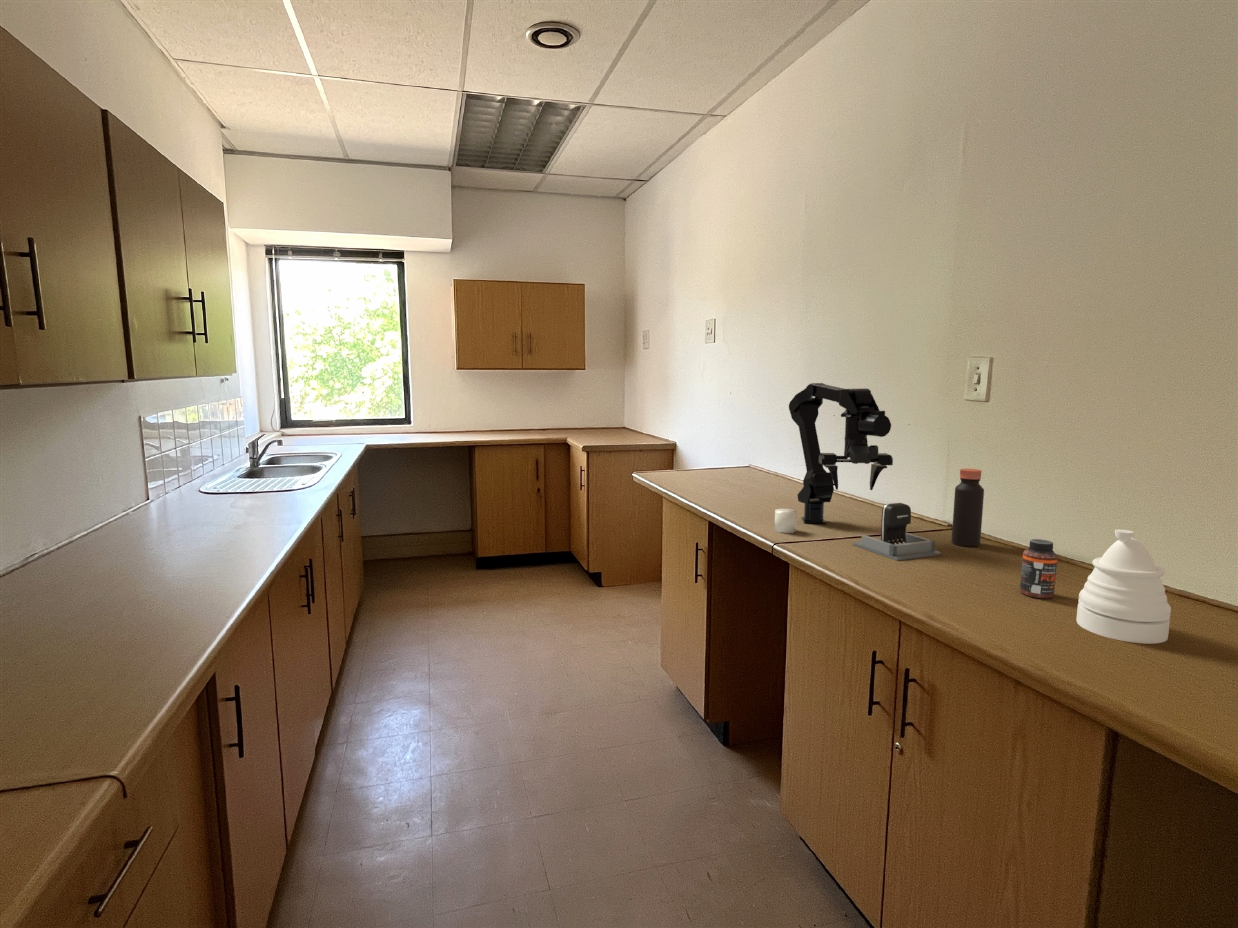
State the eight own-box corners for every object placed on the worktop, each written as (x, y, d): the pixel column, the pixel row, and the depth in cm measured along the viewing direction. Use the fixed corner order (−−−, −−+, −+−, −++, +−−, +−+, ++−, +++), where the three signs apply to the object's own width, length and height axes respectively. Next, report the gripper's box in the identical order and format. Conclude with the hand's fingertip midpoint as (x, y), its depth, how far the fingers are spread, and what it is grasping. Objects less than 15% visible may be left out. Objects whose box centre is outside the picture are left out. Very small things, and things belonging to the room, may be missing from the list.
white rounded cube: (773, 528, 189) (774, 508, 188) (794, 528, 188) (794, 508, 187) (775, 533, 183) (776, 512, 182) (797, 533, 182) (797, 513, 181)
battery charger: (889, 550, 162) (892, 506, 160) (879, 546, 166) (881, 503, 164) (911, 547, 164) (914, 504, 163) (900, 544, 168) (903, 501, 166)
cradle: (852, 544, 170) (852, 533, 170) (893, 539, 175) (894, 528, 174) (897, 560, 155) (897, 548, 155) (941, 554, 160) (942, 542, 159)
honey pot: (1140, 648, 105) (1151, 542, 103) (1060, 621, 117) (1069, 525, 114) (1184, 635, 110) (1196, 534, 108) (1103, 611, 122) (1112, 519, 119)
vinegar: (982, 548, 166) (988, 472, 163) (953, 546, 168) (958, 471, 165) (977, 541, 172) (982, 468, 169) (949, 539, 174) (954, 467, 171)
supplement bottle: (1043, 601, 127) (1048, 546, 125) (1013, 592, 132) (1017, 539, 131) (1060, 596, 130) (1065, 542, 128) (1030, 588, 135) (1034, 536, 133)
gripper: (826, 436, 169) (824, 494, 171) (899, 436, 167) (897, 495, 169) (819, 433, 180) (817, 487, 182) (888, 433, 178) (885, 488, 180)
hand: (853, 489), depth 178 cm, fingers open, 9 cm apart
